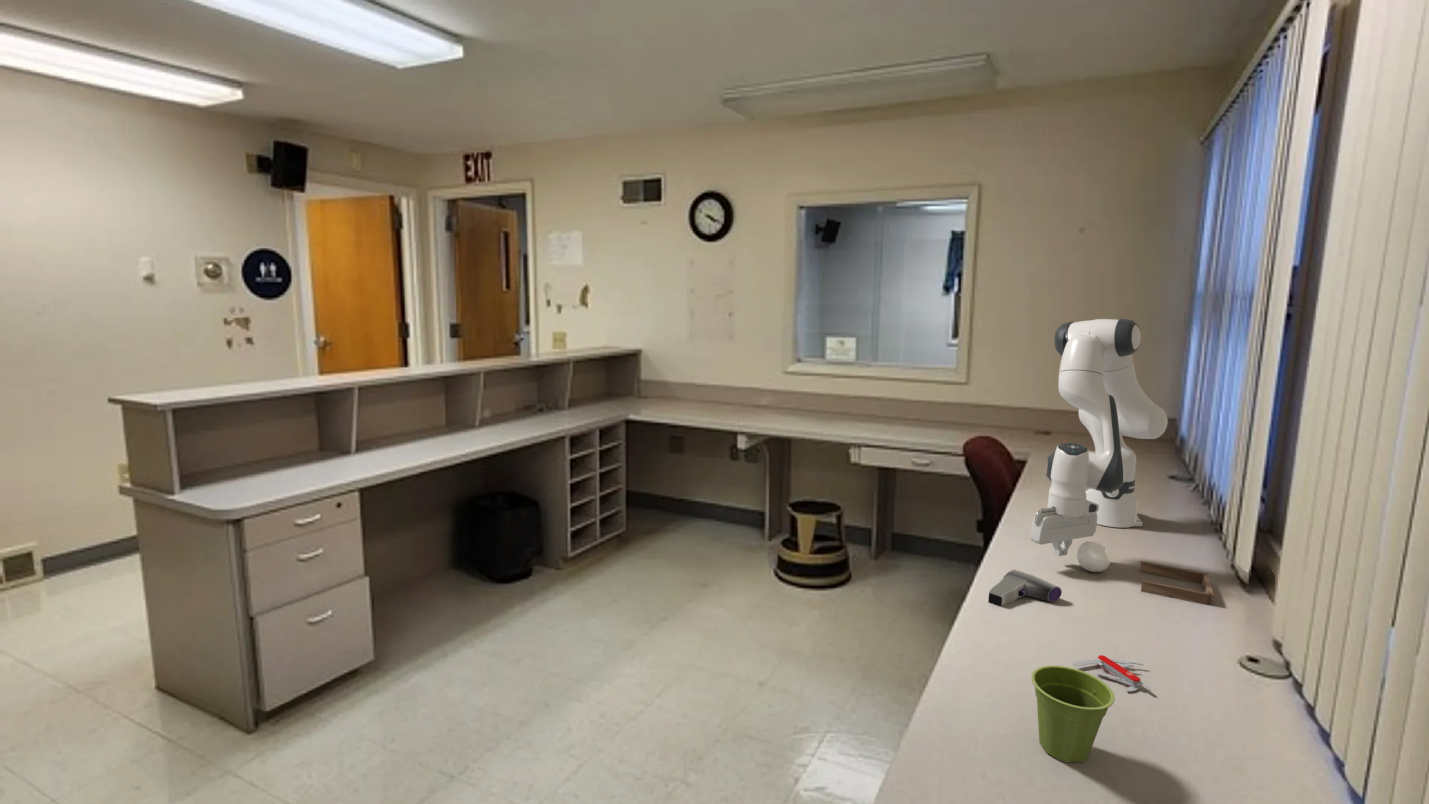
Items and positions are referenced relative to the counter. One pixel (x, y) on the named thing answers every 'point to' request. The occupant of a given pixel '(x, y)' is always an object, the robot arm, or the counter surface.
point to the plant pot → (1069, 710)
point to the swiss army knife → (1116, 671)
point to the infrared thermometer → (1022, 588)
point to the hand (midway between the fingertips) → (1060, 555)
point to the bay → (1177, 592)
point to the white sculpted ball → (1092, 557)
